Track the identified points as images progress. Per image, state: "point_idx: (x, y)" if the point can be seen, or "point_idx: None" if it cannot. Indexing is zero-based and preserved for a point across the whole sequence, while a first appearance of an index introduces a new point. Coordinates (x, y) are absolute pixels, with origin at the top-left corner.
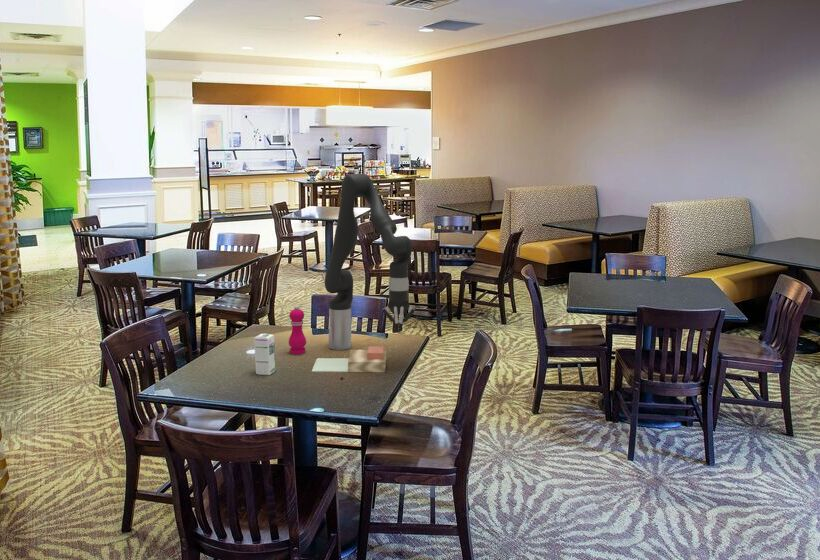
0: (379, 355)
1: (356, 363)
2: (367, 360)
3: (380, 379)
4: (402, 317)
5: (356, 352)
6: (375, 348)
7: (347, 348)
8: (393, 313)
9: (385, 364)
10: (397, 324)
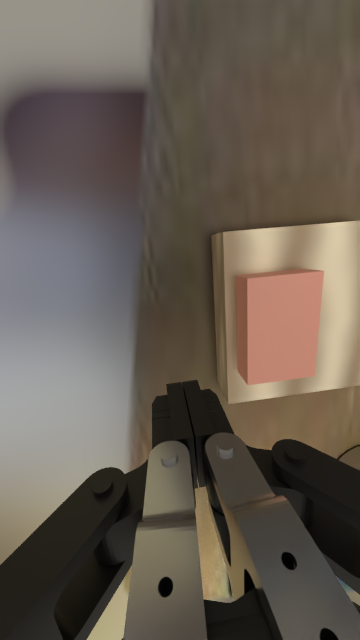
0: (258, 275)
1: (345, 222)
2: (302, 250)
3: (223, 135)
4: (145, 523)
5: (343, 355)
6: (283, 350)
7: (343, 457)
8: (349, 601)
9: (217, 294)
10: (206, 428)
